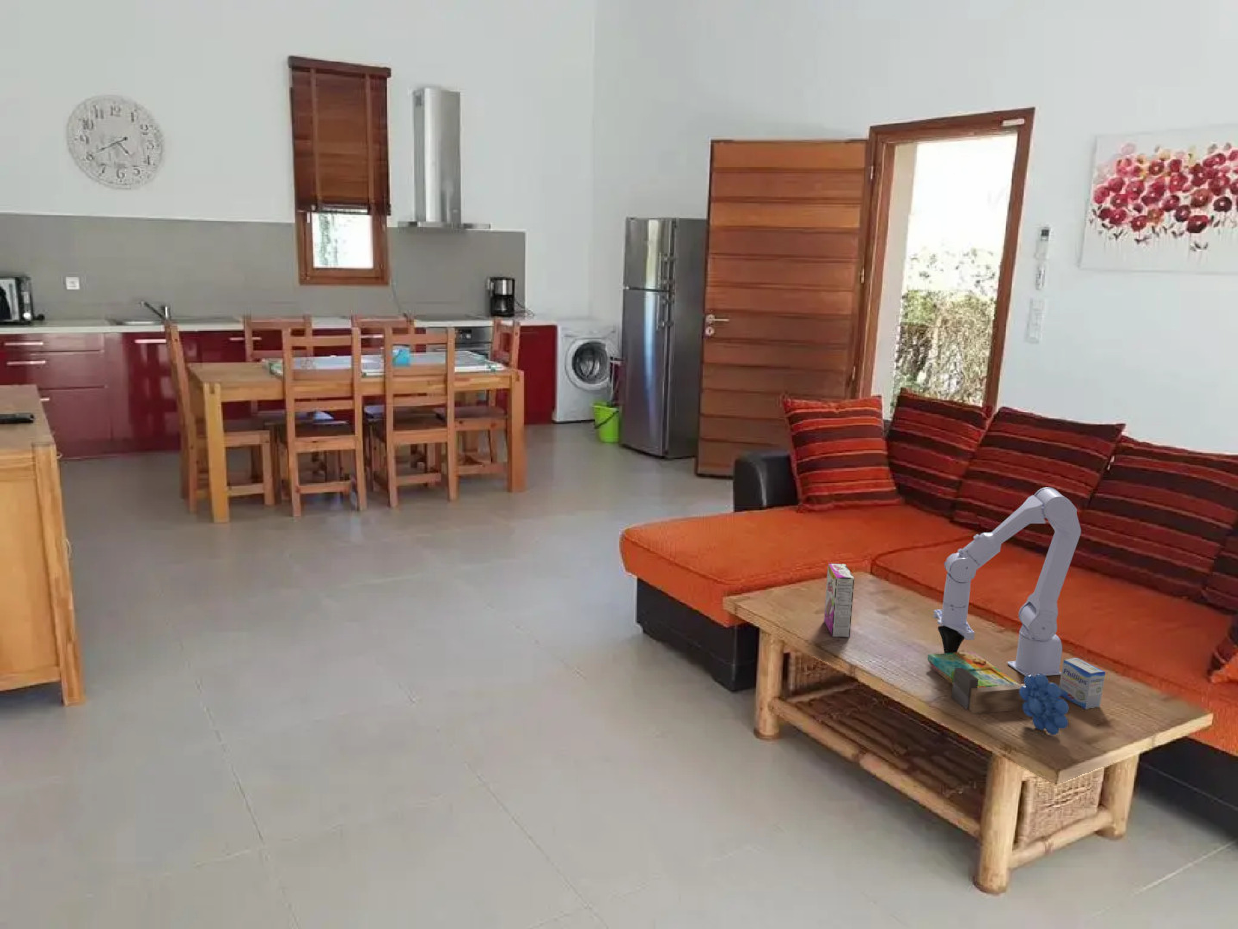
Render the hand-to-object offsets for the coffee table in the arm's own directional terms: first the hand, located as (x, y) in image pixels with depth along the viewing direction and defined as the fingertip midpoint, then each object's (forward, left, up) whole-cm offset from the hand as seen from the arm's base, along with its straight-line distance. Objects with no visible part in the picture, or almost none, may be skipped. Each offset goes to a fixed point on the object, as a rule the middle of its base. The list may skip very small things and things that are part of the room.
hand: (949, 656), depth 233 cm
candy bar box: (+18, -25, -2) cm, 30 cm away
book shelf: (0, +20, -2) cm, 21 cm away
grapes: (0, +33, -2) cm, 34 cm away
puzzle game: (+1, +11, -2) cm, 12 cm away
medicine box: (-18, +23, -2) cm, 29 cm away
